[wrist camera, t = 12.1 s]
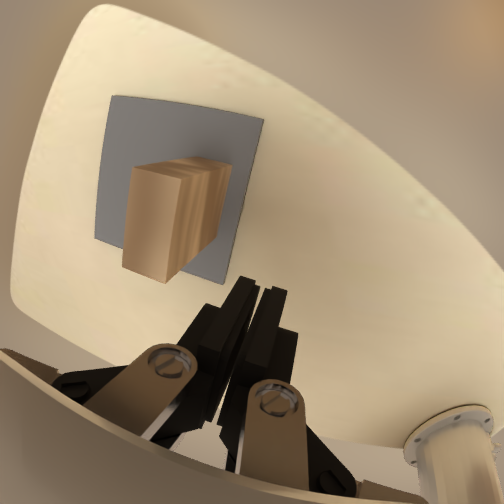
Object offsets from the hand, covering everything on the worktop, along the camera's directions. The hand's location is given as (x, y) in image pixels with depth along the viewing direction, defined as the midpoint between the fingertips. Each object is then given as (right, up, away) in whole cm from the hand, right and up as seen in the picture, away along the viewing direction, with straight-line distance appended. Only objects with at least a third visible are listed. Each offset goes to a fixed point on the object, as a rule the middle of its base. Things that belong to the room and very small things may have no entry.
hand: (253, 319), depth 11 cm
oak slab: (-4, +7, +14) cm, 16 cm away
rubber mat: (-7, +8, +15) cm, 18 cm away
